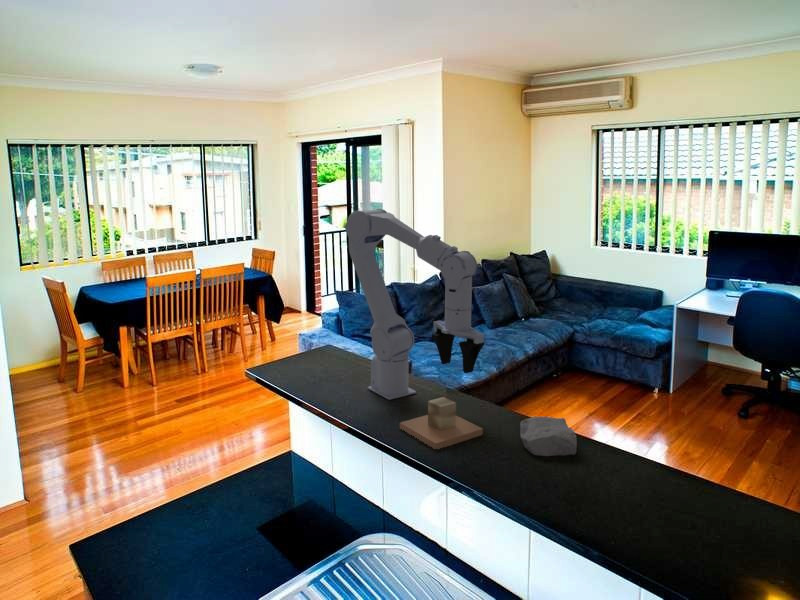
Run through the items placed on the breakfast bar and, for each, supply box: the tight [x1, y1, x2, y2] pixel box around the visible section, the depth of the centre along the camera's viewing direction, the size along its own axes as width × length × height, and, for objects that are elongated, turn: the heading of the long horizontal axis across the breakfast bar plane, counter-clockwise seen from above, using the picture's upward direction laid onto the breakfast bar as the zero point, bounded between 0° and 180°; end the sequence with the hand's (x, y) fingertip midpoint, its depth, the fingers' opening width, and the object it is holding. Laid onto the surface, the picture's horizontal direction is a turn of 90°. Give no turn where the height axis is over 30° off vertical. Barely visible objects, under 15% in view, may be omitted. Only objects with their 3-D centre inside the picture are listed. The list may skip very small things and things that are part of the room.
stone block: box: [519, 416, 578, 457], centre depth 118 cm, size 12×5×10 cm
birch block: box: [427, 396, 457, 431], centre depth 122 cm, size 4×4×5 cm
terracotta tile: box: [399, 414, 484, 450], centre depth 123 cm, size 12×12×2 cm
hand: (456, 367), depth 133 cm, fingers open, 7 cm apart
